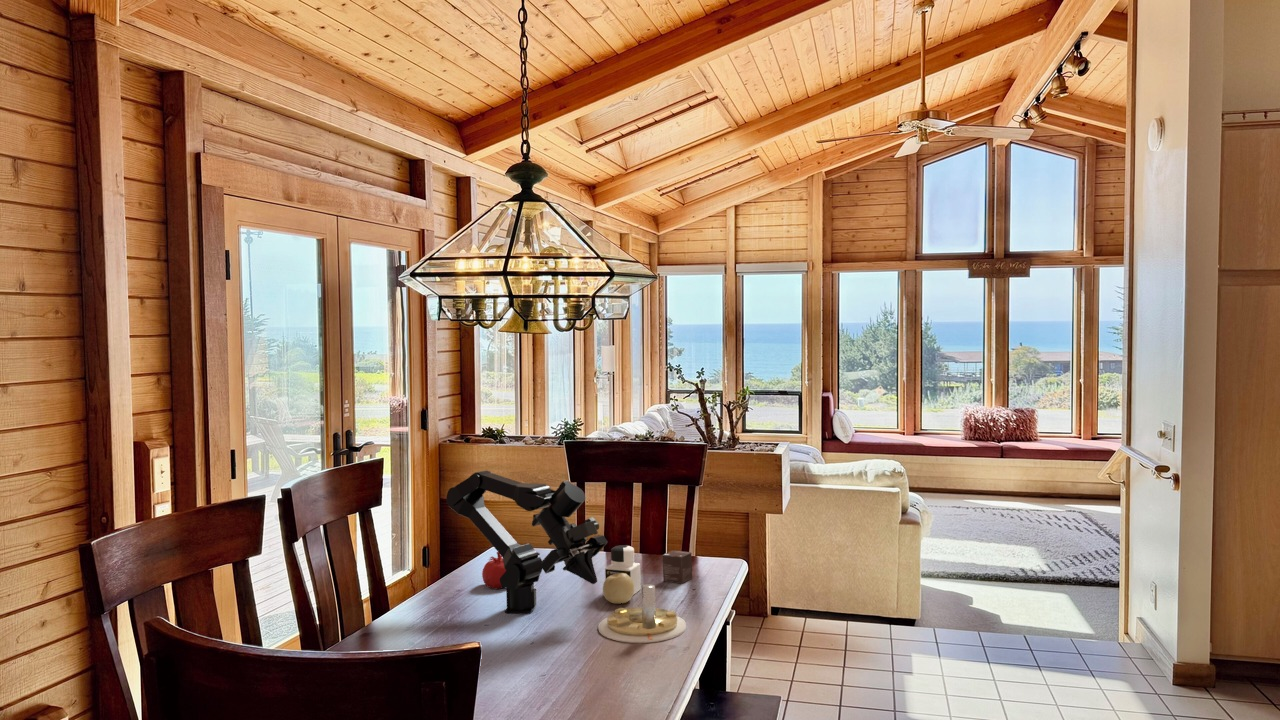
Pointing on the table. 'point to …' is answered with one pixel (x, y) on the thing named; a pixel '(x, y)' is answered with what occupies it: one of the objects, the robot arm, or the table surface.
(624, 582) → the apple
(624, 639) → the base plate
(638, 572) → the medicine bottle
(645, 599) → the brass lugged disc
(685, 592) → the table surface
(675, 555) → the box
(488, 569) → the pomegranate
